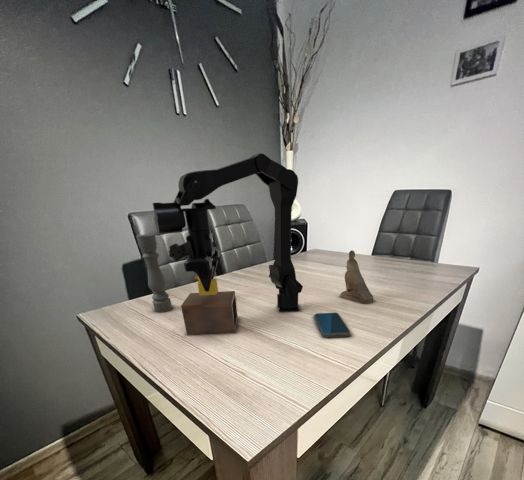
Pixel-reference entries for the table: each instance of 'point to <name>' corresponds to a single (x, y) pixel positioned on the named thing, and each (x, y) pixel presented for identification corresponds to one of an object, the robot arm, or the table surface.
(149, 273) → the candle holder
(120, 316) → the table surface
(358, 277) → the brown carved statuette
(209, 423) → the table surface
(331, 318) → the smartphone
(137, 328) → the table surface
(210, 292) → the duck
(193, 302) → the dark wooden box
